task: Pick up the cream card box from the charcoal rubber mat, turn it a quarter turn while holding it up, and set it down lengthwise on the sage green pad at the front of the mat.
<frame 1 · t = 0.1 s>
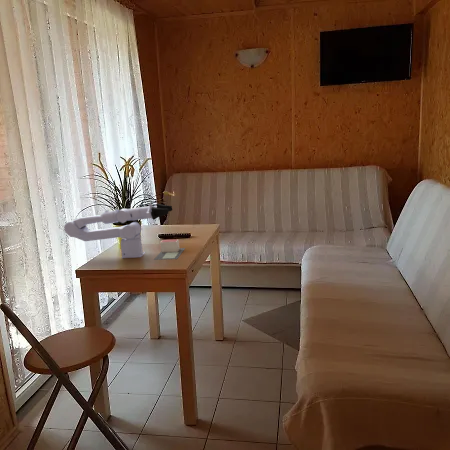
hand: (170, 209, 205), 21 cm above the table, tool horizontal, fingers open, 7 cm apart
card box: (170, 250, 215), resting on mat
mat: (170, 254, 210), on the table
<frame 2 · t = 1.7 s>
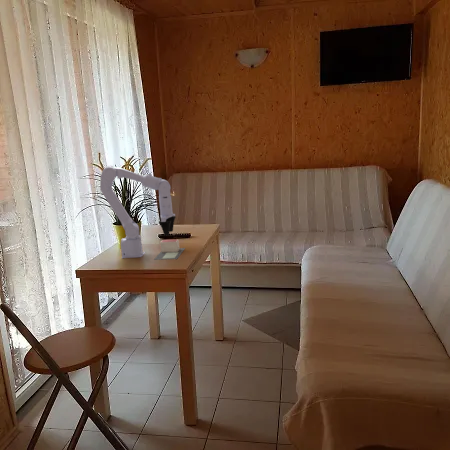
hand: (168, 233, 213), 9 cm above the table, tool pointing down, fingers open, 7 cm apart
nothing on the table moved.
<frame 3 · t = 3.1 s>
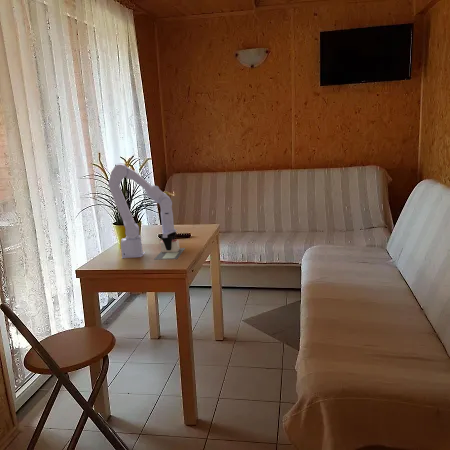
hand: (170, 248, 214), 1 cm above the table, tool pointing down, fingers closed on card box, 4 cm apart
card box: (170, 250, 215), resting on mat, touching gripper
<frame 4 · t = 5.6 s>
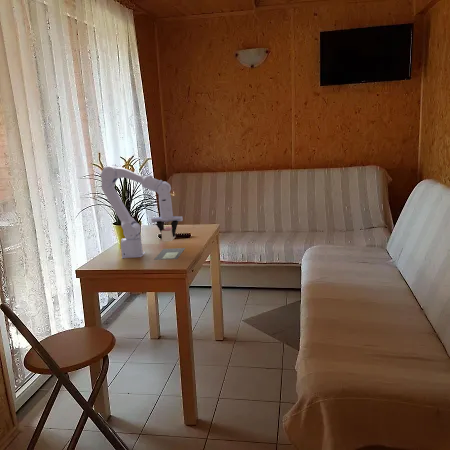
hand: (168, 236, 209), 8 cm above the table, tool pointing down, fingers closed on card box, 4 cm apart
card box: (169, 239, 209), point 7 cm above the table, touching gripper
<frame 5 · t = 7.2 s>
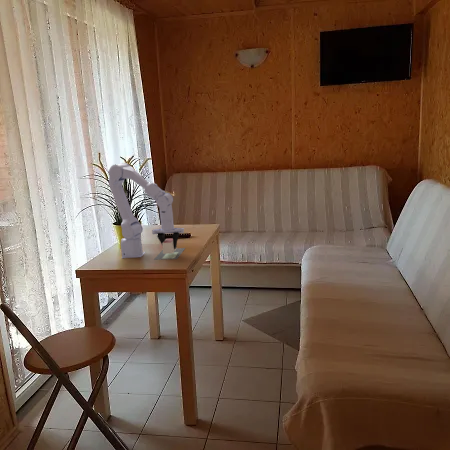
hand: (169, 248, 206), 4 cm above the table, tool pointing down, fingers closed on card box, 4 cm apart
card box: (170, 251, 206), point 2 cm above the table, touching gripper
when the fingers open (2 cm above the table, at t = 8.3 s): card box stays where it is, resting on mat.
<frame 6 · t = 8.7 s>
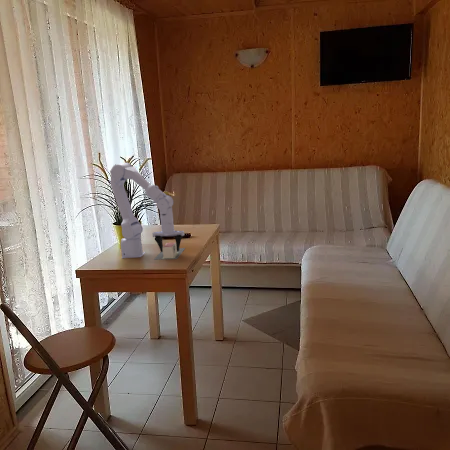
hand: (170, 251, 206), 2 cm above the table, tool pointing down, fingers open, 7 cm apart
card box: (170, 255, 207), resting on mat
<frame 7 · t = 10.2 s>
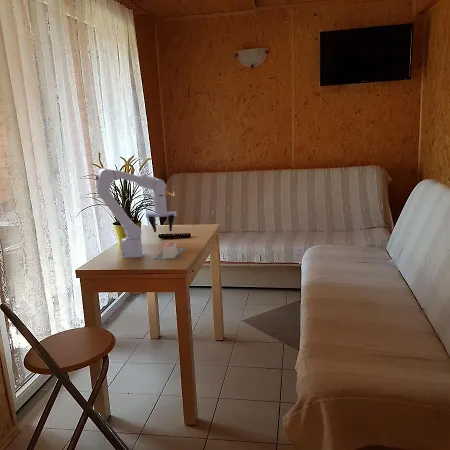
hand: (163, 231, 216), 9 cm above the table, tool pointing down, fingers open, 7 cm apart
nothing on the table moved.
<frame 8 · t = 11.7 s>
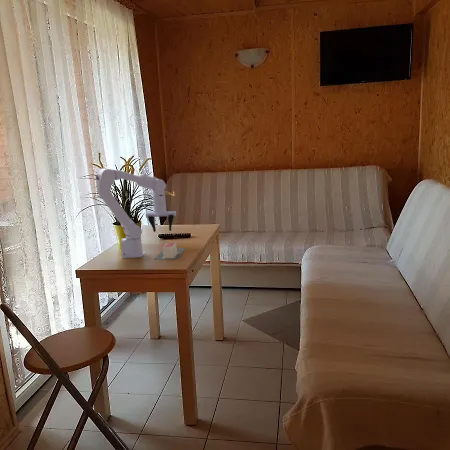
hand: (162, 231, 217), 9 cm above the table, tool pointing down, fingers open, 7 cm apart
nothing on the table moved.
at the end: card box 0.0 cm from the target spot, resting on mat; card box tilted 0°; the gripper is holding nothing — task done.
